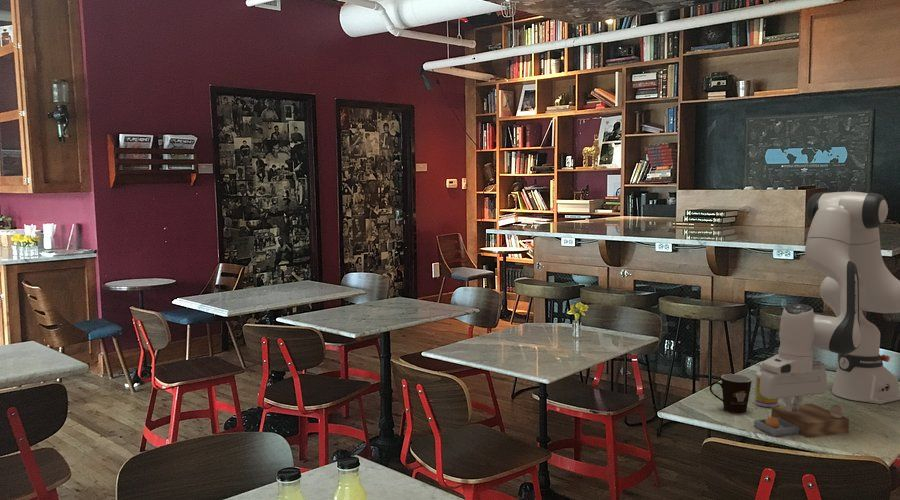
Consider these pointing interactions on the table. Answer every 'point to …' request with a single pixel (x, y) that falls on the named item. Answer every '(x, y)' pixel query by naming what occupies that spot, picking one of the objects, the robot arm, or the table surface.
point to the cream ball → (836, 411)
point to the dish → (782, 430)
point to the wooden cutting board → (813, 420)
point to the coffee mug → (734, 392)
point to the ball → (772, 422)
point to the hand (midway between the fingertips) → (792, 411)
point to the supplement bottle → (758, 397)
